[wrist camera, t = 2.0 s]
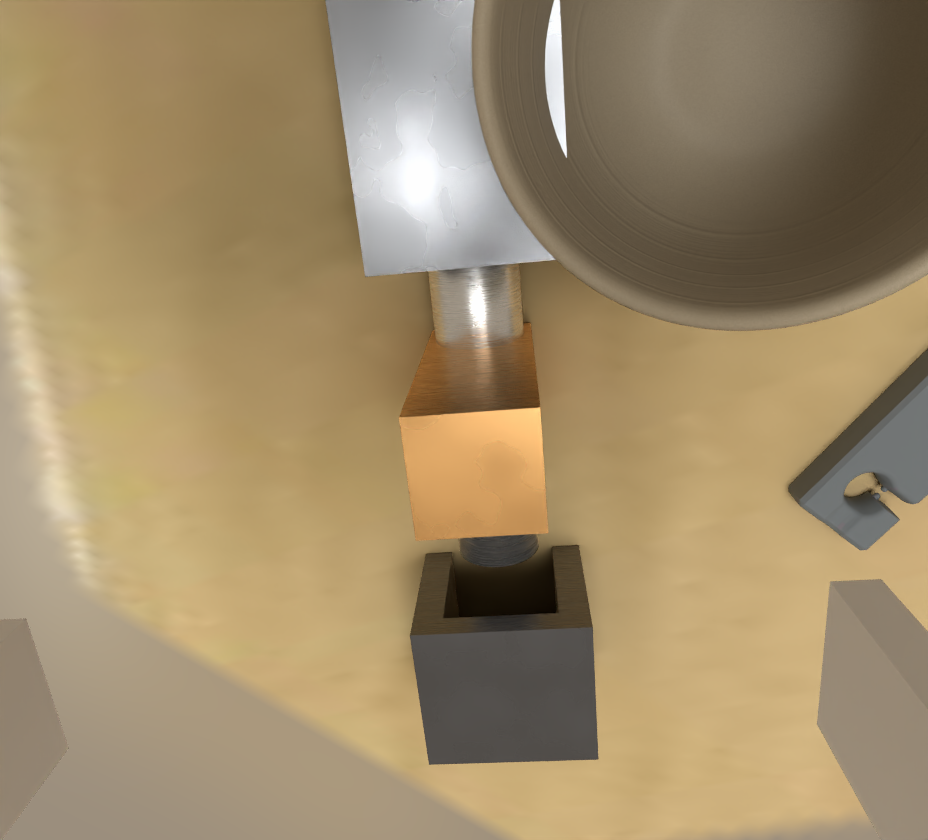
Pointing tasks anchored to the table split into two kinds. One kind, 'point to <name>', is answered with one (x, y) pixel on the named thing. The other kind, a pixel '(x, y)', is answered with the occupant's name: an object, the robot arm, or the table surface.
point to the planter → (717, 150)
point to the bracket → (873, 462)
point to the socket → (505, 673)
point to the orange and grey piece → (477, 421)
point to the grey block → (426, 137)
